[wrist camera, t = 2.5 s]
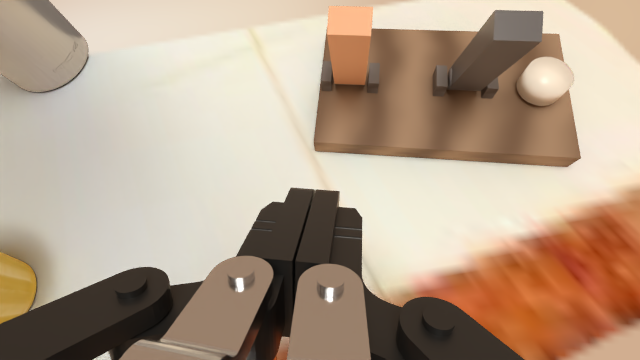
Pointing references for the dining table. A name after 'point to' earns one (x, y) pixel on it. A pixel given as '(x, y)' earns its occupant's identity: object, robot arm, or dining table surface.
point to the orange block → (349, 43)
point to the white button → (545, 81)
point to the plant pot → (15, 287)
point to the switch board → (441, 106)
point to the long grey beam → (496, 48)
